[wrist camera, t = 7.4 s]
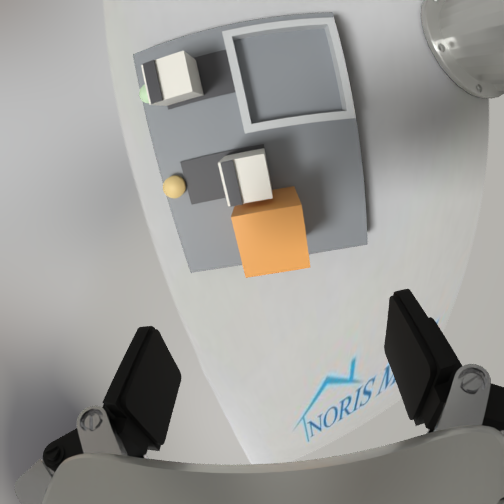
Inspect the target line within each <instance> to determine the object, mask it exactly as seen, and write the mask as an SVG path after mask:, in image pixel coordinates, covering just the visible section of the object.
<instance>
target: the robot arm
mask: <svg viewBox="0 0 504 504" xmlns="http://www.w3.org/2000/svg"><path fill="white" fill-rule="evenodd" d="M421 20H422V27H423V30H424V34H425V37H426V40H427V42H428V44H429V47H430V49H431V51H432V53H433V54H434V56H435V58H436V60H437V61H438V63H439V64H440V66H441V67H442V69H443V70H444V71H445V72H446V73H447V75H448V76H449V77H450V78H451V79H452V80H453V81H454V82H455V83H456V84H457V85H458V86H459V87H461V88H462V89H464V90H465V91H466V92H468V93H470V94H472V95H474V96H477V97H482V98H495V97H499V96H501V95H502V94H504V0H423V3H422V7H421ZM384 349H385V354H386V357H387V359H388V362H389V364H390V367H391V369H392V372H393V375H394V377H395V380H396V383H397V385H398V388H399V391H400V394H401V396H402V399H403V402H404V405H405V408H406V411H407V413H408V416H409V418H410V420H413V419H414V421H415V424H416V425H420V424H423V423H425V426H426V428H428V431H427V433H426V434H425V435H421V436H417V437H414V438H411V439H408V440H404V441H400V442H397V443H393V444H389V445H385V446H381V447H377V448H373V449H369V450H364V451H360V452H355V453H350V454H345V455H340V456H334V457H328V458H321V459H314V460H306V461H297V462H287V463H273V464H253V465H216V464H215V465H214V464H194V463H181V462H171V461H162V460H154V459H149V458H148V456H147V455H146V453H147V449H148V450H156V451H159V450H160V446H161V445H163V444H164V442H165V439H166V435H167V431H168V427H169V423H170V419H171V415H172V412H173V408H174V404H175V400H176V397H177V393H178V389H179V386H180V382H181V373H180V371H179V369H178V367H177V365H176V363H175V362H174V359H173V358H172V356H171V354H170V352H169V350H168V348H167V346H166V344H165V342H164V340H163V338H162V336H161V334H160V332H159V331H158V330H157V329H155V328H154V327H152V326H147V327H139V328H138V330H137V332H136V334H135V336H134V338H133V340H132V342H131V344H130V346H129V348H128V350H127V352H126V354H125V356H124V358H123V360H122V362H121V364H120V366H119V368H118V370H117V372H116V374H115V377H114V379H113V381H112V383H111V385H110V387H109V389H108V392H107V394H106V396H105V399H104V401H103V403H104V405H103V407H100V406H90V407H88V408H86V409H84V410H83V411H82V412H81V413H80V415H79V417H78V419H77V428H76V429H75V430H73V431H71V432H69V433H68V434H66V435H64V436H62V437H60V438H59V439H57V440H55V441H53V442H51V443H50V444H49V445H48V446H47V447H46V448H45V450H44V453H43V461H42V460H41V459H40V460H38V461H37V462H36V463H35V464H34V465H33V466H32V467H31V468H30V469H29V470H27V471H26V472H25V473H24V474H23V475H22V476H21V477H20V478H19V479H18V480H17V481H16V483H15V493H16V495H17V497H18V499H19V501H20V503H21V504H504V387H501V386H498V385H495V384H491V379H490V376H489V373H488V372H487V371H486V370H485V369H484V368H483V367H481V366H479V365H476V364H468V365H464V366H462V365H461V363H460V361H459V360H458V358H457V356H456V354H455V353H454V351H453V349H452V348H451V346H450V344H449V343H448V341H447V339H446V338H445V336H444V335H443V333H442V331H441V330H440V328H439V327H438V325H437V324H436V322H435V321H434V319H433V318H431V317H430V318H428V317H427V315H426V313H425V312H424V310H423V309H422V307H421V306H420V304H419V303H418V301H417V300H416V298H415V297H414V295H413V294H412V292H411V291H410V290H409V289H404V290H400V291H395V292H394V295H393V296H391V297H390V300H389V311H388V320H387V329H386V337H385V345H384Z"/></svg>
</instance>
